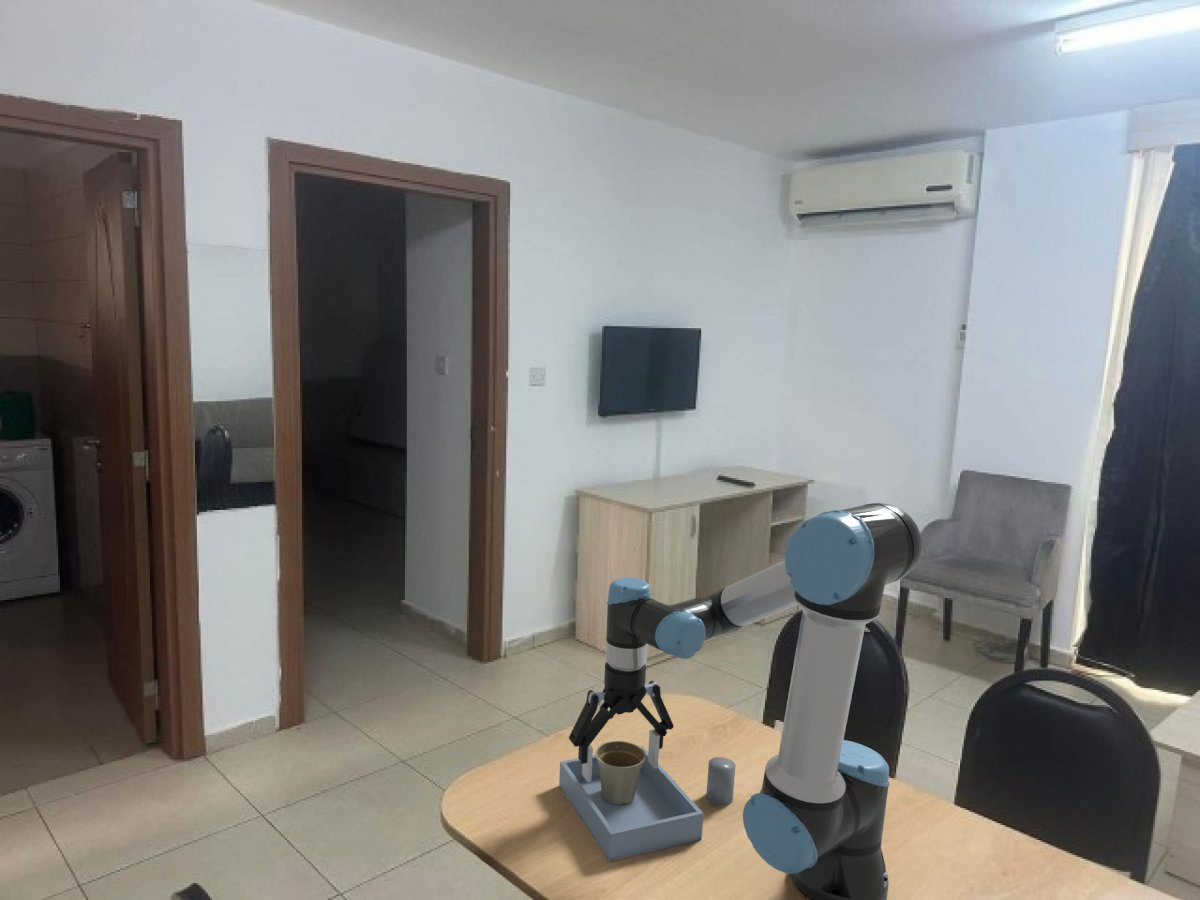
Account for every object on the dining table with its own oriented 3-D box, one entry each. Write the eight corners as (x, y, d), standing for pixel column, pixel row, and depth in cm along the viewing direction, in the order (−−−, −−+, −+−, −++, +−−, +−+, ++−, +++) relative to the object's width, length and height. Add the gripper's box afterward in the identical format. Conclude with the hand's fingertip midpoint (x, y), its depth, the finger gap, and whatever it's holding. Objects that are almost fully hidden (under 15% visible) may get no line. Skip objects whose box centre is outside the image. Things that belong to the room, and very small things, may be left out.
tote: (701, 839, 144) (703, 813, 143) (609, 861, 137) (611, 834, 136) (641, 769, 165) (642, 746, 164) (559, 785, 158) (560, 761, 157)
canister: (737, 802, 155) (740, 768, 154) (714, 808, 153) (717, 773, 152) (723, 788, 160) (726, 755, 159) (701, 793, 158) (703, 759, 157)
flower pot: (644, 812, 150) (646, 768, 148) (592, 809, 150) (594, 765, 148) (642, 783, 159) (645, 742, 158) (593, 780, 159) (595, 739, 158)
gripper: (675, 647, 158) (669, 749, 162) (554, 663, 148) (550, 772, 152) (695, 662, 152) (688, 769, 155) (569, 680, 142) (565, 794, 145)
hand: (620, 771), depth 153 cm, fingers open, 13 cm apart
